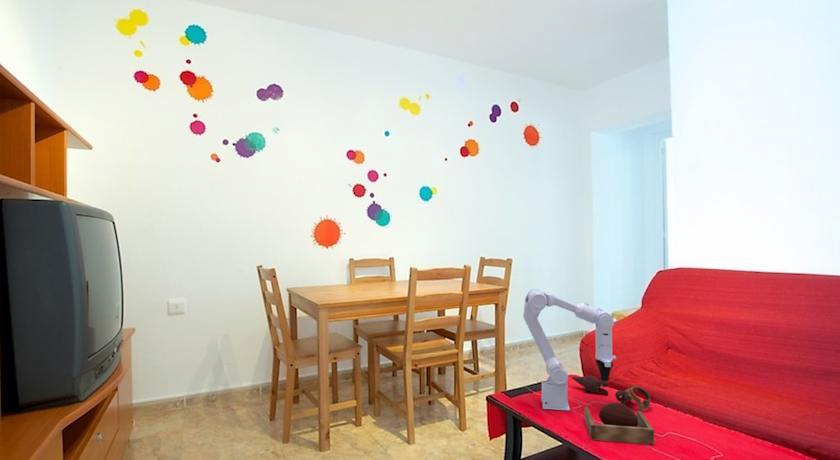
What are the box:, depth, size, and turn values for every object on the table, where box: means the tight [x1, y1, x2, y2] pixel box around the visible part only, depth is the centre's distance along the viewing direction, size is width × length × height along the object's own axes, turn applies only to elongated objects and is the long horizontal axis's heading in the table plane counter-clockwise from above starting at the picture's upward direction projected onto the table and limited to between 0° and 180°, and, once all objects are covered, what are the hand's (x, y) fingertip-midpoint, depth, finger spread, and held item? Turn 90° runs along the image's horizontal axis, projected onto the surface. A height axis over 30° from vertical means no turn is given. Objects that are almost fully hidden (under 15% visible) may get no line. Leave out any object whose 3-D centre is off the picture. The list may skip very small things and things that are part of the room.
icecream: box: [571, 374, 609, 396], centre depth 176 cm, size 7×7×15 cm
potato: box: [598, 401, 639, 427], centre depth 141 cm, size 9×12×9 cm
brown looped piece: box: [614, 385, 651, 412], centre depth 160 cm, size 12×10×8 cm
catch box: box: [583, 407, 655, 446], centre depth 140 cm, size 18×14×4 cm
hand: (604, 380), depth 160 cm, fingers closed
